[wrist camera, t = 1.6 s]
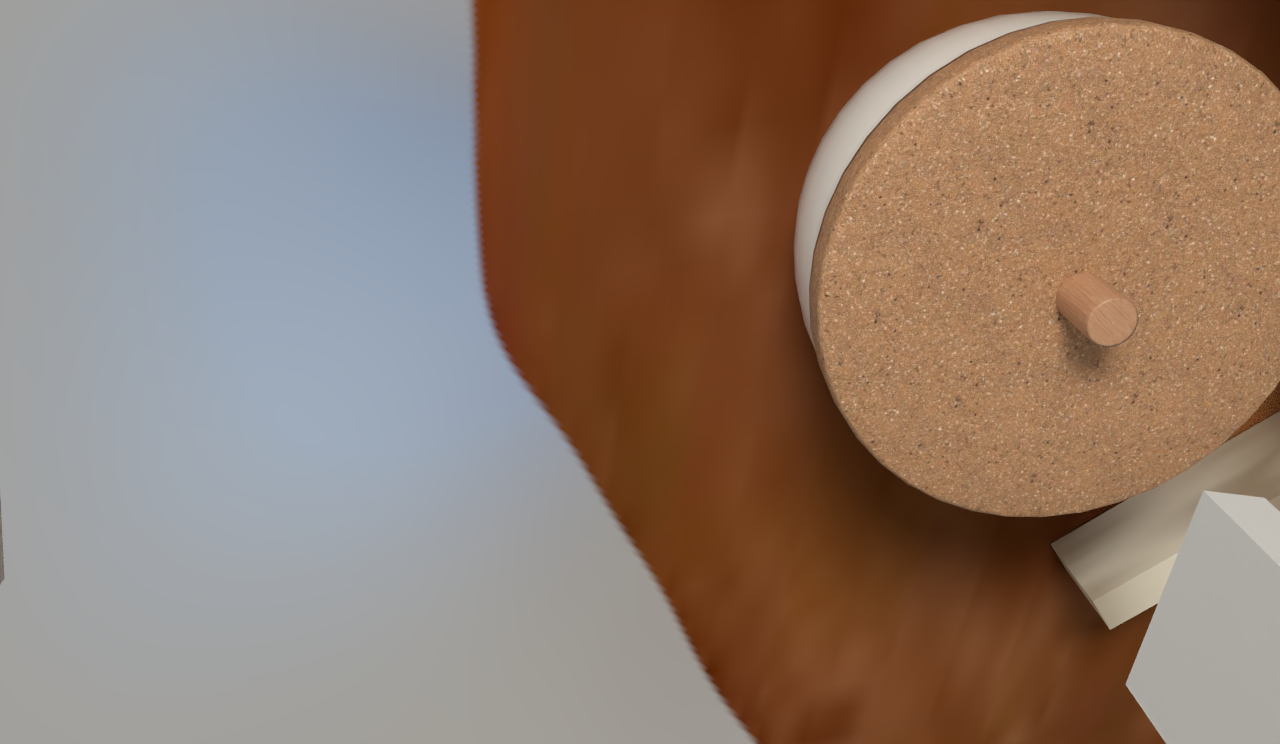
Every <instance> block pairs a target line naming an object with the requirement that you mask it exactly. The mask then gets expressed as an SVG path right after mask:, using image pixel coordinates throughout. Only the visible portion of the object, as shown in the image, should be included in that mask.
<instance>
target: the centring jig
mask: <svg viewBox="0 0 1280 744" xmlns="http://www.w3.org/2000/svg"><path fill="white" fill-rule="evenodd" d="M1203 490H1204V491H1212V492H1220V493H1229V494H1237V495H1246V496H1254V497H1263V498H1265V499H1267V500H1268V501H1269V502H1270V503H1271V504H1272V505H1273V506H1274V507H1275V508H1276V509H1277V510H1279V511H1280V411H1279V412H1277V413H1275V414H1274V415H1272V416H1270V417H1268V418H1267V419H1265V420H1263V421H1262V422H1260V423H1258V424H1256V425H1255V426H1253V427H1251V428H1249V429H1248V430H1246V431H1244V432H1243V433H1241V434H1239V435H1237V436H1236V437H1234V438H1232V439H1231V440H1229V441H1227V442H1225V443H1224V444H1222V445H1221V446H1220V447H1219V448H1217V449H1216V450H1214V451H1213V452H1211V453H1210V454H1209V455H1207V456H1206V457H1204V458H1203V459H1202V460H1200V461H1199V462H1197V463H1196V464H1194V465H1193V466H1192V467H1190V468H1189V469H1187V470H1186V471H1184V472H1182V473H1180V474H1179V475H1177V476H1175V477H1173V478H1172V479H1170V480H1168V481H1166V482H1165V483H1163V484H1161V485H1159V486H1157V487H1156V488H1154V489H1152V490H1149V491H1146V492H1144V493H1141V494H1139V495H1136V496H1133V497H1131V498H1129V499H1127V500H1125V501H1124V502H1122V503H1120V504H1119V505H1117V506H1115V507H1113V508H1112V509H1110V510H1108V511H1106V512H1105V513H1103V514H1101V515H1100V516H1098V517H1096V518H1094V519H1093V520H1091V521H1089V522H1088V523H1086V524H1084V525H1082V526H1081V527H1079V528H1077V529H1075V530H1074V531H1072V532H1070V533H1069V534H1067V535H1065V536H1063V537H1062V538H1060V539H1058V540H1057V541H1055V542H1053V543H1051V546H1052V548H1053V549H1054V551H1055V552H1056V554H1057V556H1058V557H1059V559H1060V561H1061V562H1062V564H1063V565H1064V567H1065V569H1066V570H1067V572H1068V573H1069V575H1070V576H1071V577H1072V579H1073V580H1074V581H1075V583H1076V584H1077V585H1078V587H1079V588H1080V590H1081V591H1082V592H1083V594H1084V595H1085V596H1086V598H1087V599H1088V600H1089V602H1090V603H1091V605H1092V606H1093V607H1094V609H1095V610H1096V611H1097V613H1098V614H1099V615H1100V617H1101V618H1102V620H1103V621H1104V622H1105V624H1106V625H1107V626H1108V628H1109V629H1110V630H1111V629H1113V628H1114V627H1116V626H1118V625H1120V624H1122V623H1123V622H1125V621H1127V620H1129V619H1131V618H1132V617H1134V616H1136V615H1138V614H1139V613H1141V612H1143V611H1145V610H1147V609H1148V608H1150V607H1152V606H1154V605H1155V604H1157V603H1158V602H1159V600H1160V597H1161V595H1162V592H1163V590H1164V587H1165V585H1166V582H1167V580H1168V577H1169V575H1170V572H1171V570H1172V567H1173V565H1174V562H1175V560H1176V557H1177V555H1178V552H1179V550H1180V547H1181V545H1182V542H1183V540H1184V537H1185V535H1186V532H1187V530H1188V527H1189V525H1190V522H1191V520H1192V517H1193V515H1194V512H1195V510H1196V507H1197V505H1198V502H1199V500H1200V498H1201V495H1202V493H1203Z"/></svg>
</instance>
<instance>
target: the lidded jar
mask: <svg viewBox="0 0 1280 744" xmlns="http://www.w3.org/2000/svg"><path fill="white" fill-rule="evenodd" d="M794 266H795V280H796V285H797V290H798V295H799V300H800V305H801V309H802V314H803V319H804V323H805V327H806V329H807V332H808V334H809V337H810V339H811V342H812V344H813V346H814V349H815V351H816V355H817V360H818V363H819V366H820V369H821V371H822V374H823V376H824V379H825V381H826V384H827V386H828V389H829V391H830V393H831V396H832V398H833V400H834V402H835V404H836V406H837V407H838V409H839V411H840V412H841V414H842V415H843V417H844V419H845V420H846V422H847V423H848V425H849V427H850V428H851V430H852V431H853V433H854V434H855V436H856V438H857V439H858V440H859V441H860V442H861V443H862V444H863V445H864V446H865V448H866V449H867V450H868V451H869V452H870V453H871V454H872V455H873V456H874V457H875V458H876V460H877V461H878V462H879V463H880V464H881V465H883V466H884V467H885V468H887V469H888V470H889V471H891V472H892V473H893V474H895V475H896V476H897V477H899V478H900V479H901V480H902V481H904V482H905V483H906V484H908V485H910V486H912V487H914V488H916V489H918V490H920V491H921V492H923V493H925V494H927V495H929V496H931V497H933V498H935V499H937V500H939V501H942V502H945V503H949V504H952V505H955V506H958V507H961V508H964V509H967V510H970V511H975V512H981V513H987V514H993V515H999V516H1006V517H1047V516H1055V515H1064V514H1072V513H1081V512H1085V511H1089V510H1092V509H1096V508H1100V507H1103V506H1107V505H1111V504H1114V503H1118V502H1120V501H1123V500H1126V499H1128V498H1131V497H1133V496H1136V495H1139V494H1141V493H1144V492H1146V491H1149V490H1152V489H1154V488H1156V487H1157V486H1159V485H1161V484H1163V483H1165V482H1166V481H1168V480H1170V479H1172V478H1173V477H1175V476H1177V475H1179V474H1180V473H1182V472H1184V471H1186V470H1187V469H1189V468H1190V467H1192V466H1193V465H1194V464H1196V463H1197V462H1199V461H1200V460H1202V459H1203V458H1204V457H1206V456H1207V455H1209V454H1210V453H1211V452H1213V451H1214V450H1216V449H1217V448H1219V447H1220V446H1221V445H1222V444H1223V443H1224V442H1225V441H1226V440H1227V439H1228V438H1229V437H1230V436H1231V435H1233V434H1234V433H1235V432H1236V431H1237V430H1238V429H1239V428H1240V427H1241V426H1242V425H1243V424H1244V423H1245V422H1246V421H1247V420H1248V419H1249V418H1250V417H1251V416H1252V415H1253V413H1254V412H1255V411H1256V410H1257V409H1258V408H1259V406H1260V405H1261V404H1262V403H1263V402H1264V401H1265V400H1266V398H1267V397H1268V396H1269V395H1270V394H1271V393H1272V391H1273V390H1274V389H1275V387H1276V386H1277V384H1278V383H1279V381H1280V90H1279V89H1278V88H1277V87H1276V86H1275V85H1274V84H1273V83H1272V82H1271V81H1270V79H1269V78H1268V77H1267V76H1266V75H1265V74H1264V73H1263V72H1262V71H1260V70H1259V69H1257V68H1256V67H1255V66H1253V65H1252V64H1250V63H1249V62H1248V61H1246V60H1245V59H1243V58H1242V57H1240V56H1239V55H1238V54H1236V53H1235V52H1233V51H1232V50H1230V49H1228V48H1226V47H1224V46H1222V45H1219V44H1217V43H1215V42H1213V41H1210V40H1208V39H1206V38H1204V37H1201V36H1199V35H1197V34H1195V33H1192V32H1189V31H1185V30H1181V29H1177V28H1173V27H1169V26H1165V25H1161V24H1156V23H1152V22H1148V21H1144V20H1140V19H1125V18H1111V17H1106V16H1101V15H1096V14H1091V13H1076V12H1059V11H1035V12H1025V13H1016V14H1006V15H998V16H994V17H990V18H987V19H983V20H980V21H976V22H972V23H969V24H965V25H961V26H958V27H955V28H952V29H949V30H947V31H945V32H943V33H940V34H938V35H936V36H934V37H931V38H929V39H927V40H925V41H922V42H920V43H918V44H917V45H915V46H914V47H912V48H910V49H909V50H907V51H906V52H904V53H903V54H901V55H899V56H898V57H896V58H895V59H893V60H892V61H890V62H889V63H888V64H886V65H885V66H884V67H883V68H882V69H881V70H879V71H878V72H877V73H876V74H875V75H874V76H872V77H871V78H870V79H869V80H868V81H867V82H866V83H864V84H863V85H862V86H861V87H860V89H859V90H858V91H857V92H856V93H855V94H854V96H853V97H852V98H851V99H850V100H849V101H848V102H847V104H846V105H845V106H844V107H843V108H842V109H841V110H840V112H839V113H838V115H837V116H836V118H835V120H834V121H833V123H832V124H831V126H830V127H829V129H828V130H827V132H826V134H825V135H824V137H823V138H822V140H821V142H820V144H819V146H818V148H817V151H816V153H815V155H814V157H813V159H812V162H811V164H810V166H809V168H808V171H807V174H806V177H805V181H804V185H803V188H802V192H801V195H800V199H799V202H798V211H797V219H796V228H795V237H794Z"/></svg>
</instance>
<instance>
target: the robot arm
mask: <svg viewBox="0 0 1280 744" xmlns="http://www.w3.org/2000/svg"><path fill="white" fill-rule="evenodd" d="M3 563H4V562H3V542H2V522H1V501H0V584H1V582H2V581H3V580H4V564H3ZM1126 686H1127V687H1128V689H1129V690H1130V692H1131V693H1132V694H1133V696H1134V697H1135V699H1136V700H1137V702H1138V703H1139V705H1140V706H1141V708H1142V709H1143V711H1144V712H1145V713H1146V715H1147V716H1148V718H1149V719H1150V721H1151V722H1152V724H1153V725H1154V727H1155V728H1156V730H1157V731H1158V732H1159V734H1160V735H1161V737H1162V738H1163V740H1164V741H1165V743H1166V744H1280V511H1279V510H1277V509H1276V508H1275V507H1274V506H1273V505H1272V504H1271V503H1270V502H1269V501H1268V500H1267V499H1265V498H1263V497H1254V496H1246V495H1237V494H1229V493H1220V492H1212V491H1204V490H1203V493H1202V495H1201V498H1200V500H1199V502H1198V505H1197V507H1196V510H1195V512H1194V515H1193V517H1192V520H1191V522H1190V525H1189V527H1188V530H1187V532H1186V535H1185V537H1184V540H1183V542H1182V545H1181V547H1180V550H1179V552H1178V555H1177V557H1176V560H1175V562H1174V565H1173V567H1172V570H1171V572H1170V575H1169V577H1168V580H1167V582H1166V585H1165V587H1164V590H1163V592H1162V595H1161V597H1160V600H1159V602H1158V605H1157V607H1156V610H1155V612H1154V615H1153V617H1152V620H1151V622H1150V625H1149V627H1148V630H1147V632H1146V635H1145V637H1144V640H1143V642H1142V645H1141V647H1140V650H1139V652H1138V655H1137V657H1136V660H1135V662H1134V665H1133V667H1132V670H1131V672H1130V675H1129V677H1128V680H1127V682H1126Z"/></svg>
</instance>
